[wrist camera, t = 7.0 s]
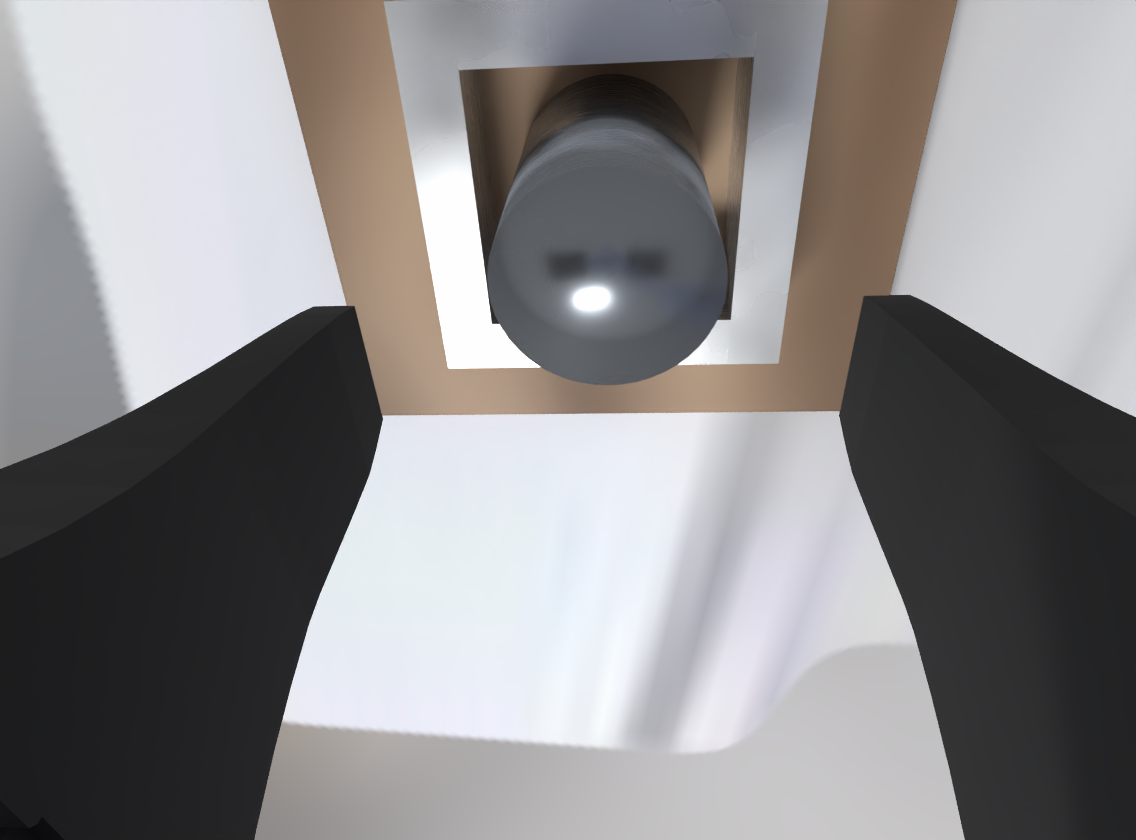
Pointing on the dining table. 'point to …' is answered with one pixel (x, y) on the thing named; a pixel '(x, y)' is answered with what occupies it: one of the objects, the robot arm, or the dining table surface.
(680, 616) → the dining table surface
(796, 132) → the socket collar
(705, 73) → the dock board
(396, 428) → the dining table surface
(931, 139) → the dining table surface
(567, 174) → the dark grey cylinder
